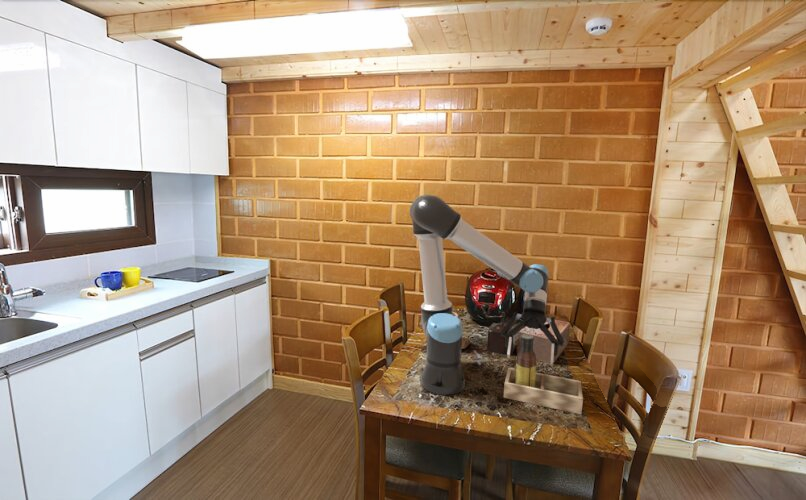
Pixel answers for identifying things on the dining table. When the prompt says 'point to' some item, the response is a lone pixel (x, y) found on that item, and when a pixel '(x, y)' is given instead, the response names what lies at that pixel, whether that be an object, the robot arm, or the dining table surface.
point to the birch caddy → (546, 392)
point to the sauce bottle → (526, 362)
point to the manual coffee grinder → (497, 334)
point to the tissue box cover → (545, 340)
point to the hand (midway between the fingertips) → (529, 360)
